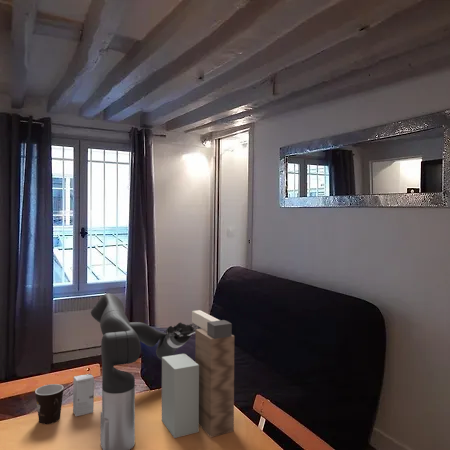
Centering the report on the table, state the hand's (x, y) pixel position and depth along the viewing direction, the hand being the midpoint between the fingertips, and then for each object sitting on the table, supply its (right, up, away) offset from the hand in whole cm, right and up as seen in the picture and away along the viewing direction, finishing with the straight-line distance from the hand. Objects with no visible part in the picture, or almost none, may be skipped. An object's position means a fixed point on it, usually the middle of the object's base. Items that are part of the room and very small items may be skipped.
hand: (192, 323), depth 147 cm
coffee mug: (-46, -29, -14) cm, 56 cm away
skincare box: (-37, -29, -7) cm, 47 cm away
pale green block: (-3, -29, -16) cm, 33 cm away
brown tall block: (+8, -29, -16) cm, 34 cm away
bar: (+6, +1, -12) cm, 14 cm away
